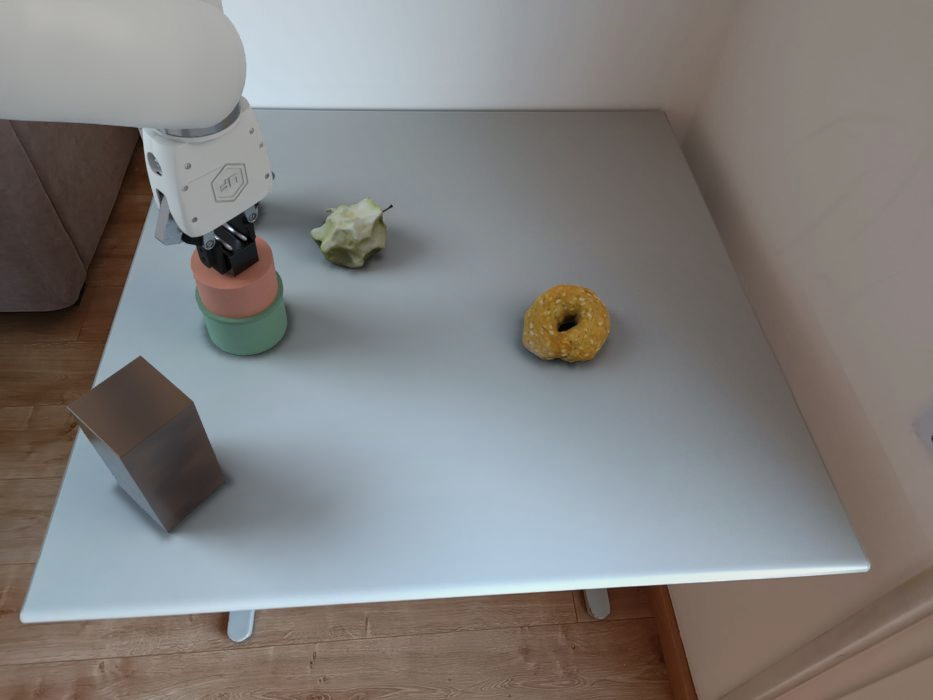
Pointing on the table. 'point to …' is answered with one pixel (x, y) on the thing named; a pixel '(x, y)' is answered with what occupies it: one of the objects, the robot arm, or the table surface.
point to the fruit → (352, 233)
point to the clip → (236, 248)
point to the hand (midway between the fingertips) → (230, 255)
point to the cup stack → (242, 304)
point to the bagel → (564, 308)
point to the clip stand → (150, 441)
